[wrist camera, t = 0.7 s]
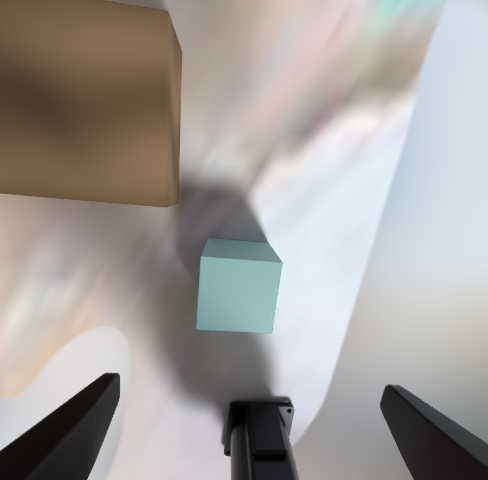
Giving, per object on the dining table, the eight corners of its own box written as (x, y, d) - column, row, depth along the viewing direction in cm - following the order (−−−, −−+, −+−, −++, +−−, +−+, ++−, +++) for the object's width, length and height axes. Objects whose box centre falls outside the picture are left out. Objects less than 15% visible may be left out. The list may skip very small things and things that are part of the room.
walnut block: (179, 202, 18) (165, 207, 14) (42, 190, 17) (-13, 192, 13) (182, 54, 15) (167, 11, 12) (24, 31, 14) (-50, -25, 11)
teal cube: (260, 297, 20) (271, 333, 15) (203, 293, 19) (196, 329, 15) (268, 242, 19) (282, 262, 14) (207, 237, 18) (200, 256, 13)
